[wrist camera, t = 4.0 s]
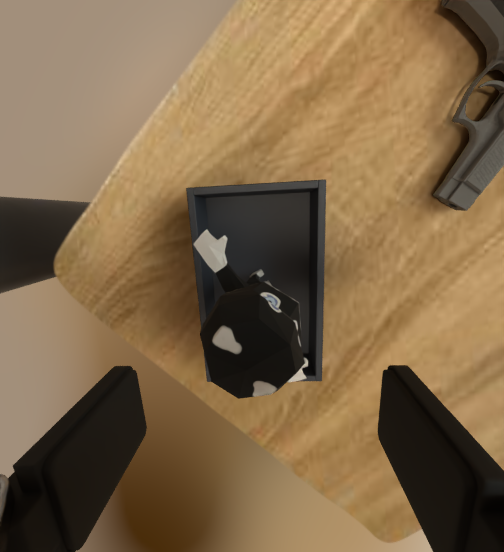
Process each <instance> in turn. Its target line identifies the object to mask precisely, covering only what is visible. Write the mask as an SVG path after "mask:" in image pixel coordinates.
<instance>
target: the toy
mask: <svg viewBox="0 0 504 552" xmlns="http://www.w3.org/2000/svg"><path fill="white" fill-rule="evenodd" d="M226 243H227V237H226V236H223V237H221V238H220V239H219V240H217V239H216V238H214V237H213V236H212V235H211V234H210V233H209V231H208V230H205V231H204V232H203V233H202V234H201V235H200V237H199V238H198V239H197V240H196V241H195V243H194V244H193V245H194V246H195V247H196V249H197V250H198V252H199V253H200V255H201V256H202V257H203V259H204V260H205V262H206V263H207V265H208V266H209V267H210V268H211V269H212V270H213V271H214V272H215V273H216V275H217V277H218V280H219V282H220V284H221V286H222V288H223V290H224V291H225V294H223V295H221V296H220V297H219V299H218V301H217V302H216V304H215V306H214V307H213V309H212V310H211V312H210V314H209V315H208V317H207V319H206V320H205V322H204V323H203V325H202V328H201V332H200V336H201V341H202V345H203V350H204V354H205V358H206V362H207V366H208V370H209V374H210V378H211V382H213V383H214V384H216V385H218V386H219V387H221V388H222V389H224V390H226V391H227V392H229V393H231V394H232V395H234V396H235V397H237V398H247V397H255V396H263V395H271V394H272V393H274V392H276V391H278V390H279V389H280V388H281V387H282V386H283V385H284V384H285V383H286V382H294V381H300V380H303V379H307V378H306V376H305V375H304V374H303V371H302V368H304V367H307V366H308V360H307V359H306V358H304V357H303V352H302V348H301V340H302V337H301V323H300V309H299V302H297V301H296V300H294V299H292V298H291V297H289V296H288V295H286V294H284V293H283V292H281V291H279V290H278V289H276V288H274V287H273V286H272V285H271V284H270V282H269V280H268V281H266V282H264V281H263V282H260V281H259V278H260V277H262V276H263V275H264V273H263V271H262V270H261V269H260V270H258V271H256V272H254V273H252V274H251V276H250V278H249V280H248V281H247V282H245V281H244V280H242V279H241V278H240V277H239V276H238V275H237V274H236V273H235V272H234V270H233V269H232V268H231V266H230V265H229V264H228V263H227V260H226V256H225V248H226Z"/></svg>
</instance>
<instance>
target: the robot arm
mask: <svg viewBox="0 0 504 552" xmlns="http://www.w3.org/2000/svg"><path fill="white" fill-rule="evenodd" d="M146 428H147V427H146V421H145V415H144V410H143V404H142V400H141V394H140V388H139V383H138V378H137V373H136V371H135V370H133V368H132V367H131V366H115V367H113V368H112V369H111V370H110V371H109V372H108V373H107V374H106V375H105V376H104V377H103V378H102V379H101V380H100V381H99V382H98V383H97V384H96V385H95V386H94V387H93V388H92V389H91V390H90V391H89V392H88V393H87V394H86V395H85V396H84V397H82V399H80V400H79V401H78V402H77V403H76V404H75V405H74V406H73V407H72V408H71V409H70V410H69V411H68V412H67V413H66V414H65V415H64V416H63V417H62V418H61V419H60V420H59V421H58V422H57V423H56V424H55V425H54V426H53V427H52V428H51V429H50V430H49V431H48V432H47V433H46V434H45V435H44V436H43V437H42V438H41V439H40V440H39V441H38V442H37V443H36V444H35V445H33V446H32V447H31V449H29V451H27V452H26V453H25V454H24V455H23V456H22V457H21V458H20V459H19V460H18V461H17V462H16V463H15V464H14V465H13V468H14V471H15V472H14V473H13V474H12V475H11V476H10V477H9V478H7V477H6V476H5V475H1V474H0V552H75V551H76V550H79V549H80V548H81V547H82V546H83V545H84V543H85V542H86V540H87V538H88V536H89V534H90V533H91V531H92V529H93V527H94V526H95V524H96V522H97V520H98V518H99V517H100V515H101V513H102V511H103V509H104V507H105V506H106V504H107V502H108V501H109V499H110V497H111V495H112V494H113V492H114V490H115V488H116V486H117V485H118V483H119V481H120V479H121V478H122V476H123V474H124V472H125V470H126V469H127V467H128V465H129V463H130V462H131V460H132V458H133V456H134V454H135V453H136V451H137V449H138V447H139V446H140V444H141V442H142V440H143V438H144V436H145V434H146ZM378 436H379V440H380V443H381V445H382V447H383V449H384V451H385V453H386V455H387V457H388V459H389V461H390V463H391V465H392V467H393V469H394V472H395V474H396V476H397V478H398V480H399V482H400V484H401V486H402V488H403V490H404V492H405V494H406V496H407V498H408V500H409V503H410V505H411V507H412V509H413V511H414V513H415V515H416V517H417V519H418V521H419V523H420V525H421V527H422V529H423V532H424V534H425V535H426V538H427V540H428V542H429V544H430V546H431V548H432V550H433V552H504V471H503V469H502V468H501V467H500V466H499V465H498V464H497V463H496V462H495V461H494V460H493V458H492V457H491V456H490V455H489V454H488V453H487V452H486V451H485V450H484V449H483V448H482V446H481V445H480V444H479V443H478V442H477V441H476V440H475V439H474V438H473V437H472V435H471V434H470V433H469V432H468V431H467V430H466V429H465V428H464V427H463V426H462V424H461V423H460V422H459V421H458V420H457V419H456V418H455V417H454V416H453V415H452V413H451V412H450V411H449V410H448V409H447V408H446V407H445V406H444V405H443V404H442V403H441V402H440V401H439V400H438V398H437V397H436V396H435V395H434V394H433V393H432V392H431V391H430V390H429V389H428V387H427V386H426V385H425V384H424V383H423V382H422V381H421V380H420V379H419V378H418V376H417V375H416V374H415V373H414V372H413V371H412V370H411V369H410V368H409V367H408V366H406V365H390V366H389V367H388V369H387V370H384V371H383V377H382V388H381V399H380V411H379V422H378Z"/></svg>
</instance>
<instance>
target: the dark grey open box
mask: <svg viewBox="0 0 504 552" xmlns="http://www.w3.org/2000/svg"><path fill="white" fill-rule="evenodd" d="M186 191H187V200H188V209H189V218H190V228H191V237H192V246H193V256H194V265H195V274H196V283H197V293H198V302H199V311H200V321H201V328H202V325H203V323H204V322H205V320H206V319H207V317H208V315H209V314H210V312H211V310H212V309H213V307H214V306H215V304H216V302H217V301H218V299H219V297H220V296H221V295H223V294H225V291H224V290H223V288H222V286H221V284H220V282H219V280H218V277H217V275H216V273H215V272H214V271H213V270H212V269H211V268H210V267H209V266H208V265H207V263H206V262H205V260H204V259H203V257H202V256H201V255H200V253H199V252H198V250H197V249H196V247H195V246H194V245H193V244H194V243H195V241H196V240H197V239H198V238H199V237H200V235H201V234H202V233H203V232H204V231H205V230H208V231H209V233H210V234H211V235H212V236H213V237H214V238H216V239H217V240H219V239H220V238H221V237H223V236H226V237H227V243H226V248H225V256H226V260H227V263H228V264H229V265H230V266H231V268H232V269H233V270H234V272H235V273H236V274H237V275H238V276H239V277H240V278H241V279H242V280H244V281H245V282H247V281H248V280H249V278H250V276H251V274H252V273H254V272H256V271H258V270H260V269H261V270H262V271H263V273H264V275H263V276H262V277H260V278H259V281H260V282H263V281H264V282H266V281H268V280H269V282H270V284H271V285H272V286H273V287H274V288H276V289H278V290H279V291H281V292H283V293H284V294H286V295H288V296H289V297H291V298H292V299H294V300H296V301H297V302H299V309H300V323H301V337H302V340H301V348H302V352H303V357H304V358H306V359H307V360H308V366H307V367H304V368H302V371H303V374H304V375H305V376H306V378H307V379H303V380H300V381H322V350H323V302H324V254H325V206H326V180H311V181H294V182H277V183H261V184H244V185H227V186H211V187H194V188H186ZM204 358H205V354H204ZM205 367H206V376H207V382H211V378H210V374H209V370H208V366H207V362H206V358H205Z"/></svg>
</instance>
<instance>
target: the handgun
mask: <svg viewBox="0 0 504 552" xmlns="http://www.w3.org/2000/svg"><path fill="white" fill-rule="evenodd" d="M442 6H444V8H448V9H451V10H452V11H454V12H455V13H457V14H458V15H459V16H460V17H461V18H462V19H463V20H464V22H465V23H466V24H467V25H468V26H469V27H470V28H471V29H472V30H473V31H474V32H475V33H476V35H477V36H478V37H479V39H480V40H481V42H482V43H483V44H484V46H485V47H486V51H487V60H486V68H485V69H484V70H483V72H482V73H481V74H480V75H479V76H478V77H477V78H476V79H475V80H474V81H473V82H472V84H471V85H470V86H469V88H468V89H467V91H466V93H465V94H464V96H463V98H462V100H461V103H460V105H459V107H458V109H457V111H456V113H455V115H454V117H453V119H452V122H454V123H460V124H462V125H464V126H465V127H466V128H467V129H468V132H469V142H468V144H467V146H466V147H465V149H464V150H463V152H462V153H461V155H460V156H459V158H458V159H457V161H456V162H455V164H454V165H453V167H452V168H451V170H450V171H449V173H448V174H447V176H446V177H445V180H444V181H443V182H442V184H441V185H440V186H439V188H438V189H437V190H436V192H435V193H434V194H433V196H435V197H436V198H438V199H439V201H441V202H443V203H444V204H446V205H448V206H450V207H451V208H453V209H455V210H465V211H467V210H468V208H470V207H471V205H472V204H473V203H474V202H475V200H476V199H477V197H478V196H479V195H480V194H481V193H482V192H483V190H484V189H485V188H486V187H487V185H488V184H489V183H490V182H491V180H492V179H493V178H494V177H495V175H496V174H497V173H498V172H499V171H500V169H501V168H502V167H503V166H504V82H502V81H497V80H494V81H488V82H486V83H484V84H482V85H480V86H479V88H480V87H483V86H492V87H494V88H496V89H497V90H499V91H500V94H499V96H498V97H497V98H496V100H495V101H494V102H493V104H492V105H491V107H490V108H489V109H488V111H487V112H486V113H485V115H484V116H483V117H482V119H481V120H480V121H476V122H475V121H472V120H470V119H469V118H467V116H466V113H465V109H466V103H467V100H468V98H469V96H470V94H471V92H472V91H473V89H474V87H475V86H476V85H477V83H478V82H479V81H480V80H481V78H482V77H483V76H484V75H485V74H486V73H487V72H488V71H493V70H500V71H501V72H503V73H504V0H442Z"/></svg>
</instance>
